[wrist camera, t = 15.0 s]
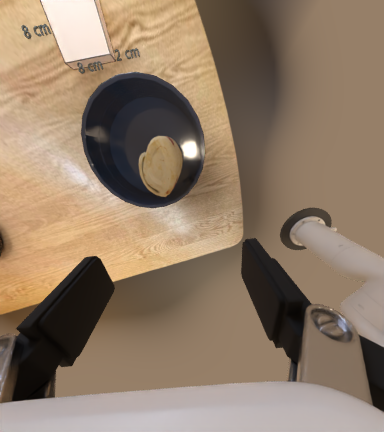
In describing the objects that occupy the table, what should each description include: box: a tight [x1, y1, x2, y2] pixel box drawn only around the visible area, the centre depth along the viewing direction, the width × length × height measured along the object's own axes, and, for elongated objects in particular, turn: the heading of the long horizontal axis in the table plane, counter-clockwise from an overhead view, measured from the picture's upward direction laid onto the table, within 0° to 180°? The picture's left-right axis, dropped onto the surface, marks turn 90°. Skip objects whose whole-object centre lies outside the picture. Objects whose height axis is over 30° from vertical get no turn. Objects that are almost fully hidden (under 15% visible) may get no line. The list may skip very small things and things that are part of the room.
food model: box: [139, 136, 183, 197], centre depth 29 cm, size 10×7×20 cm
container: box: [22, 0, 140, 74], centre depth 27 cm, size 20×11×3 cm, turn 99°
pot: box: [81, 72, 205, 208], centre depth 33 cm, size 24×24×10 cm
